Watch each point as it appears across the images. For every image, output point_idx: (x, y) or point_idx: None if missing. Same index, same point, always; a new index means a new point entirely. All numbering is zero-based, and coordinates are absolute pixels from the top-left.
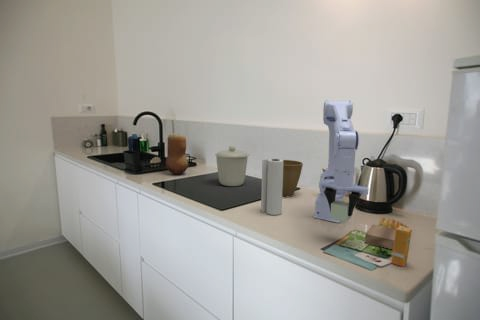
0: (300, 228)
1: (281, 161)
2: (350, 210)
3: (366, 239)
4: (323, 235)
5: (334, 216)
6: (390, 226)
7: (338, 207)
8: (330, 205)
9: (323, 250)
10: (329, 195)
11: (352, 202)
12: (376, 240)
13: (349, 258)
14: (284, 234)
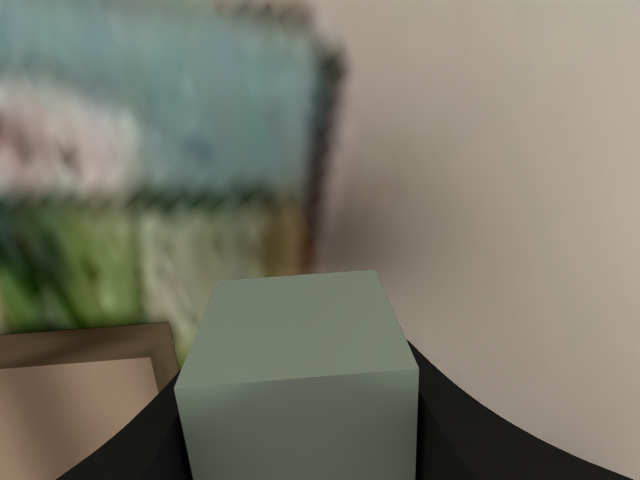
0: (568, 278)
1: None
2: (169, 388)
3: (152, 336)
4: (407, 270)
5: (337, 288)
6: None
7: (304, 353)
8: (426, 377)
9: (318, 44)
10: (508, 472)
11: (87, 471)
12: (88, 345)
13: (132, 40)
14: (636, 117)
